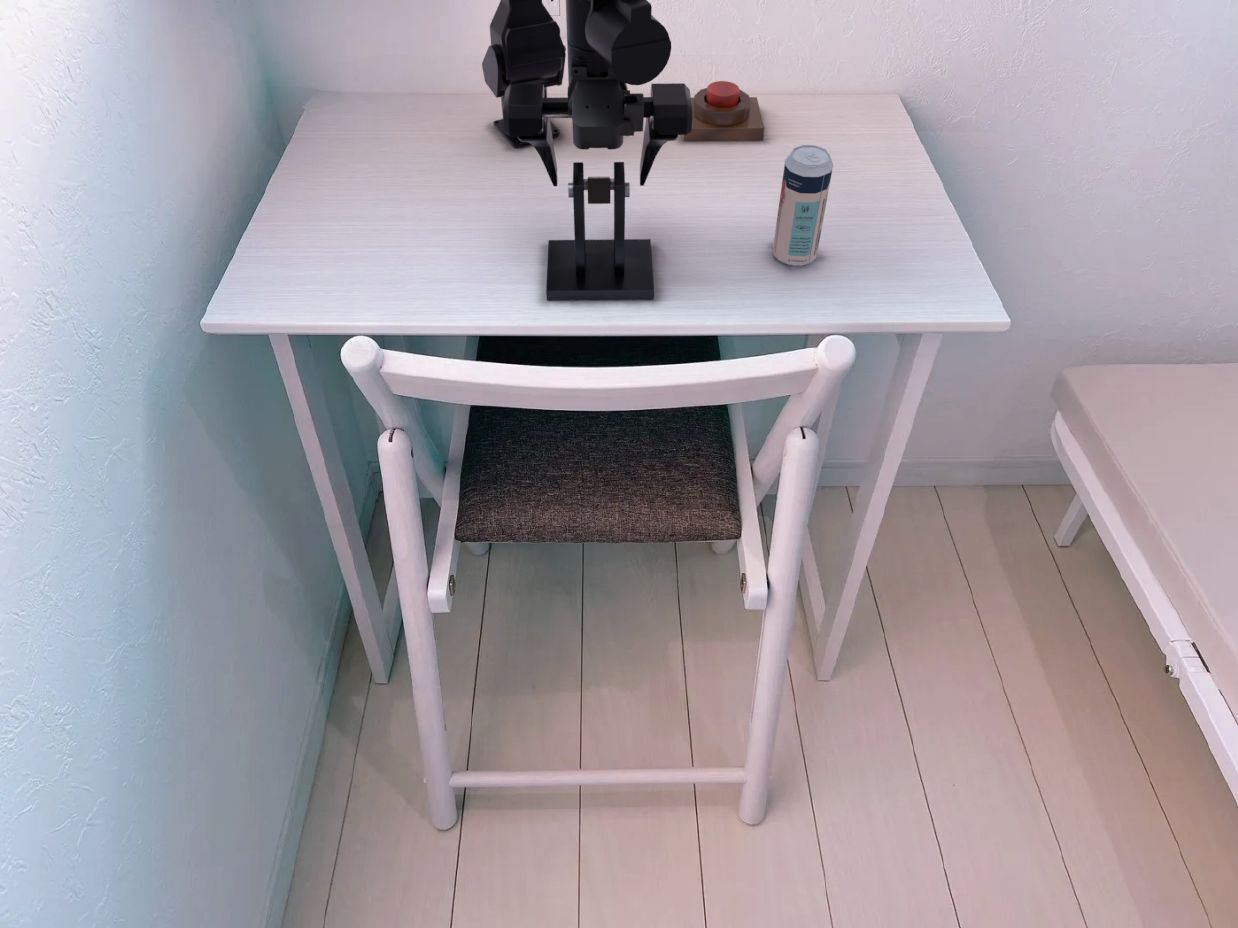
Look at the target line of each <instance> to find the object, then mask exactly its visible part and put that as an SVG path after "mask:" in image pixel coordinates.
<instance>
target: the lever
mask: <svg viewBox="0 0 1238 928" xmlns="http://www.w3.org/2000/svg"><path fill="white" fill-rule="evenodd" d="M584 191H587V204H588V205H605V204H606V205H607V204H608V205H609V204H611V191H614V178H611V176H587V178H584Z"/></svg>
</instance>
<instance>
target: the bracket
mask: <svg viewBox="0 0 1238 928" xmlns="http://www.w3.org/2000/svg"><path fill="white" fill-rule="evenodd" d="M572 166H573V167H572V182H568V184H567V196H568V198H570V199H571V198H572V201H573V202H572V203H573V230H574V231H573V234H574V239H548V241H547V242H548V243H547V246H548V247H547V265H546V266H547V267H546V287H545V292H546V293H545V294H546V295H545V296H546V301H613V300H614V301H620V300H621V301H624V300H626V301H627V300H628V301H629V300H630V301H631V300H632V301H633V300H655V283H654V282H655V281H654V268H653V256H652V243H651V242H652V241H651V239H650V238H644V239H643V238H633V239H632V238H631V239H629V238H628V239H626V238H625V237H626V233H625V232H626V198H630V197H631V188H630V187H631V186H630V184H631V183H630V182H629V181H626V174H625V162H624V161H613V179H614V190H613V239H586V217H585V216H586V215H585V214H586V213H585V212H586V211H585V208H586V207H585V190H584V179H585V172H584V171H585V170H584V169H585V168H584V167H585V166H584V162H583V161H582V162H581V161H577V162H575V161H574V162H573V163H572Z"/></svg>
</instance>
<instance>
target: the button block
mask: <svg viewBox="0 0 1238 928" xmlns="http://www.w3.org/2000/svg"><path fill="white" fill-rule="evenodd" d="M706 97H707V87H705V88H701V89H700V90H699V91H697V92H696V93H695V95H694V97H691V102H692V116H693V117H692V132H691V133H689V134H687V135H681V136H682V141H683V142H715V141H716V142H721V141H722V142H728V141H729V142H730V141H731V142H733V141H736V142H738V141H739V142H741V141H743V142H744V141H749V142H750V141H764V134H765V125H764V121H763V117H762V113H761V108H760V105H759V100H758V97H757V96H750V95H749V94H747V93H746V92H745V91H743V90H742V89H740V88H739V99H738V104H737V106H734V107H730V108H718V107H714V106H710V105H709V104H707V102H706Z"/></svg>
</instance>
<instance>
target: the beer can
mask: <svg viewBox="0 0 1238 928" xmlns="http://www.w3.org/2000/svg"><path fill="white" fill-rule="evenodd" d="M831 157H832V156H831V154H830V153H829V152H828V150H827V149H826V148H823V147H821V146H818V145H816V144H815V145H814V144H801V145H799V146H796V147H793V148H792V150H791V151H790V153H789V155H788V156H787V157H786V158H785V161H784V166H783V174H782V181H781V188H780V195H779V202H778V209H777V217H776V223H775V224H776V225H775V230H774V237H773V244H772V245H773V246H772V254H773V256H774V257H775V258H776V259H777V260H778V261H779V262H781V263H783V264H786V265H788V266H793V267H796V266H806V265H808V264H811V263H812V262H813V261H815V260H816V258H817V257H818V251H819V246H820V241H821V234H822V230H823V223H824V218H825V212H826V207H827V201H828V196H829V190H830V185H831V180H832V179H831V178H832V173H833V169H834V163H833V160H832V158H831Z"/></svg>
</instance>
